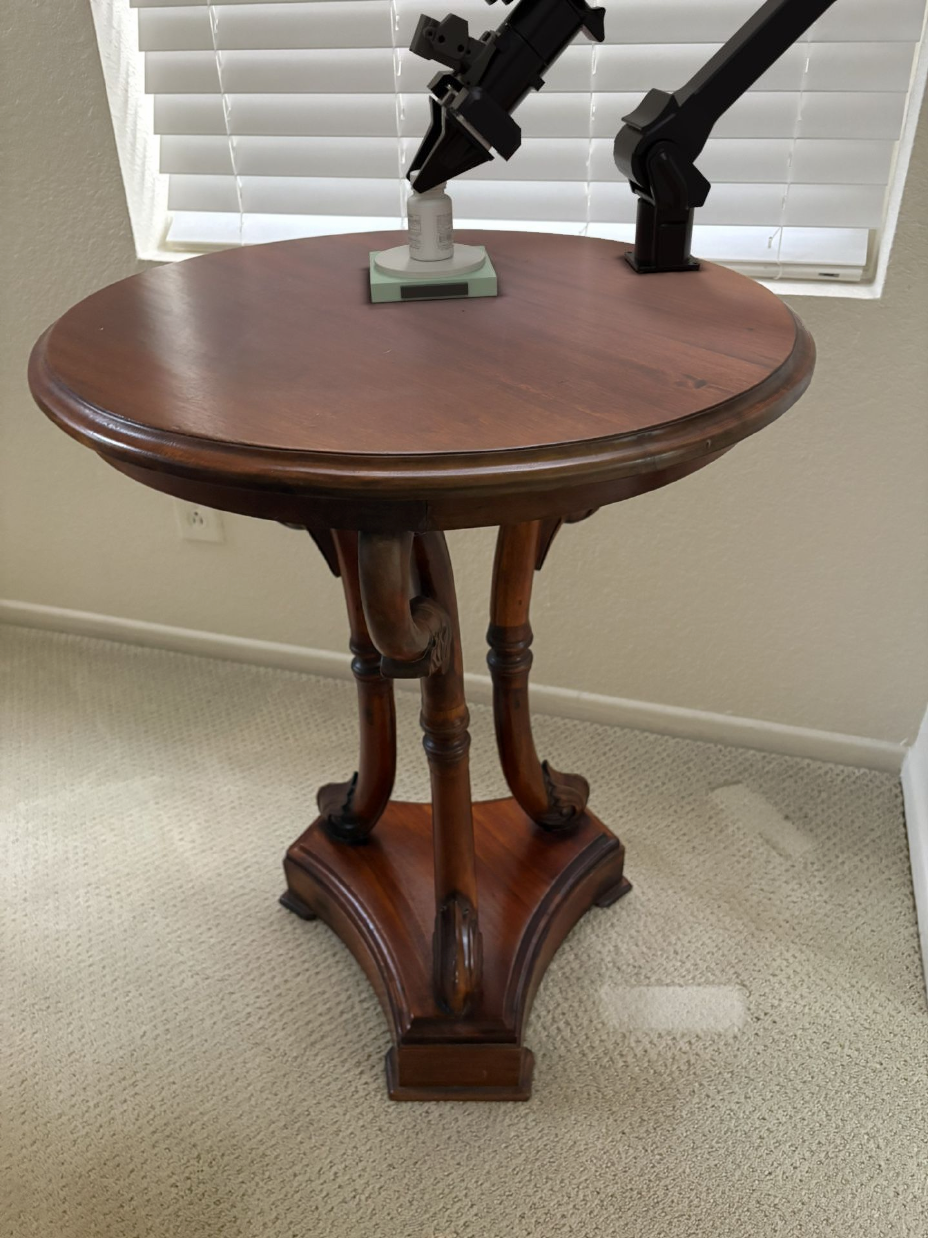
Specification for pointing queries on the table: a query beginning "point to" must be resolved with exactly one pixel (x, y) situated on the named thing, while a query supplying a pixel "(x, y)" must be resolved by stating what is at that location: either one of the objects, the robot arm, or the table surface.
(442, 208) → the pill bottle
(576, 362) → the table surface
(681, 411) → the table surface
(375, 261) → the scale
